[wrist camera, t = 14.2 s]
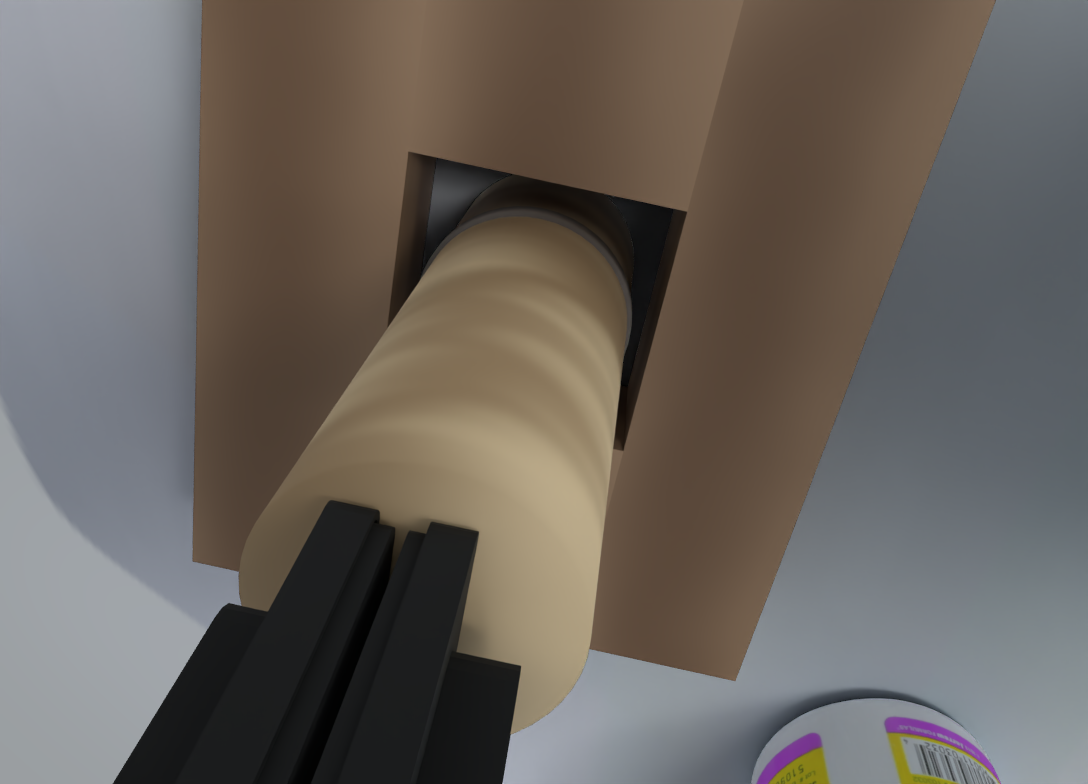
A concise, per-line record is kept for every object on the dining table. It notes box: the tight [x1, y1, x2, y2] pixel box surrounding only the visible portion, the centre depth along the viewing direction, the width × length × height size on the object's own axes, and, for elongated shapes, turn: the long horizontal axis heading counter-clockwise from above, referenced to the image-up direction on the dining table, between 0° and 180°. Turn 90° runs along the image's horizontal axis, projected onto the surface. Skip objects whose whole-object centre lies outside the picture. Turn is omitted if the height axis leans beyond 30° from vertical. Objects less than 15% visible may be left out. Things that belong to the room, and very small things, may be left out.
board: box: [193, 0, 996, 681], centre depth 20 cm, size 13×16×3 cm
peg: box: [239, 174, 634, 735], centre depth 16 cm, size 4×4×12 cm
